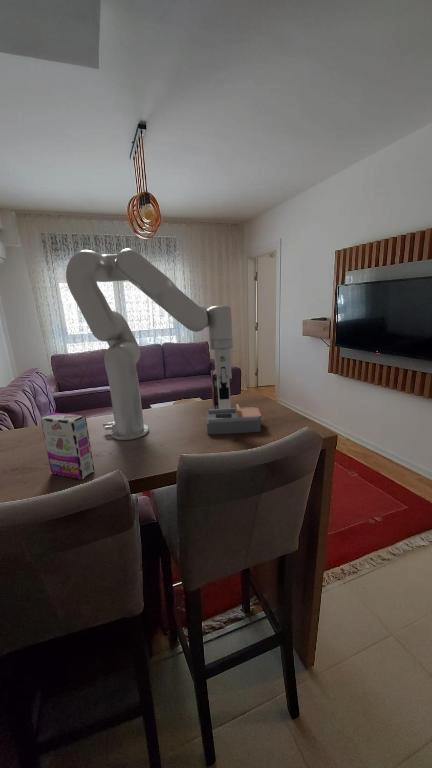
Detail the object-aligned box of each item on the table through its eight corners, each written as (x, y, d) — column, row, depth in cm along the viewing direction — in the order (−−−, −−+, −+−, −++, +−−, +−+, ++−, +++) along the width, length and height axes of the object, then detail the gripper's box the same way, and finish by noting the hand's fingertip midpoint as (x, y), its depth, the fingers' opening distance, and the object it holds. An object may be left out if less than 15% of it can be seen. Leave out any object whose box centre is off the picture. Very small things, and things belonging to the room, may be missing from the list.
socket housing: (207, 434, 107) (206, 420, 105) (207, 422, 117) (206, 409, 116) (260, 431, 107) (260, 417, 106) (255, 419, 118) (255, 406, 116)
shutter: (238, 419, 107) (237, 411, 107) (235, 411, 115) (235, 403, 114) (261, 418, 108) (261, 410, 107) (257, 410, 115) (257, 402, 114)
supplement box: (212, 405, 135) (210, 369, 131) (223, 405, 135) (222, 368, 131) (214, 412, 127) (212, 374, 122) (226, 412, 127) (224, 373, 123)
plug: (219, 409, 108) (217, 372, 105) (218, 405, 112) (216, 369, 109) (230, 408, 108) (229, 371, 105) (229, 404, 112) (228, 368, 109)
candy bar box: (95, 471, 87) (86, 415, 83) (82, 480, 82) (72, 422, 78) (64, 465, 91) (54, 411, 87) (50, 474, 86) (38, 418, 82)
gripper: (234, 347, 96) (237, 404, 101) (230, 340, 113) (232, 389, 117) (210, 348, 96) (213, 405, 101) (209, 341, 112) (212, 390, 117)
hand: (223, 396), depth 109 cm, fingers closed on plug, 4 cm apart
